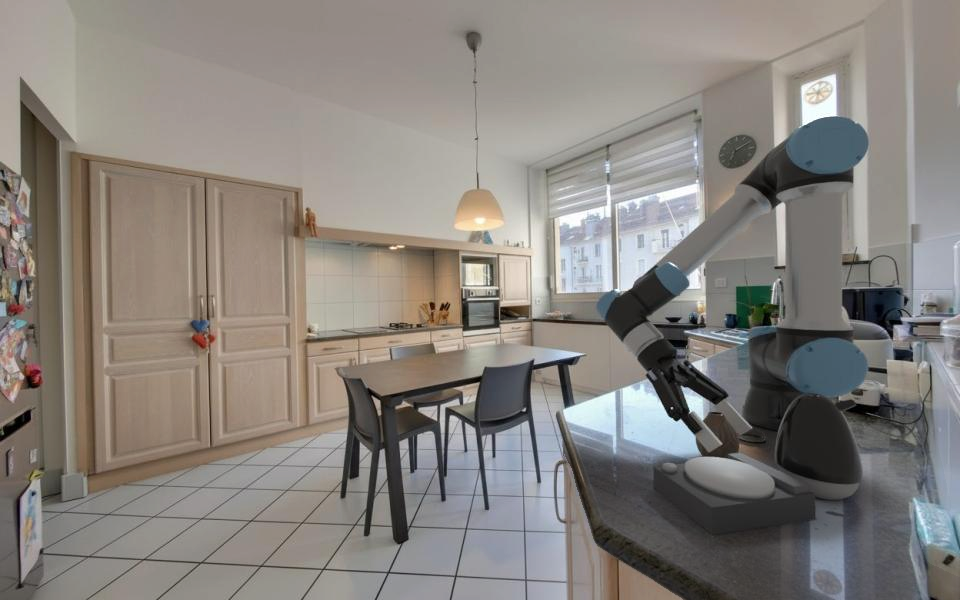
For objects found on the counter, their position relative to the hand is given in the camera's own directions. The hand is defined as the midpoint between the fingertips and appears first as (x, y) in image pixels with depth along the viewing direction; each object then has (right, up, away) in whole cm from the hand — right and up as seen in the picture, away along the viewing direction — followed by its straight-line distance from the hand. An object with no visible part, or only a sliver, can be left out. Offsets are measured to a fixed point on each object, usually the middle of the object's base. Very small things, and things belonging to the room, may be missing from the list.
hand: (732, 439), depth 67 cm
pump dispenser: (+7, -4, -10) cm, 13 cm away
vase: (-1, -5, +2) cm, 5 cm away
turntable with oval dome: (-9, -5, -12) cm, 16 cm away
